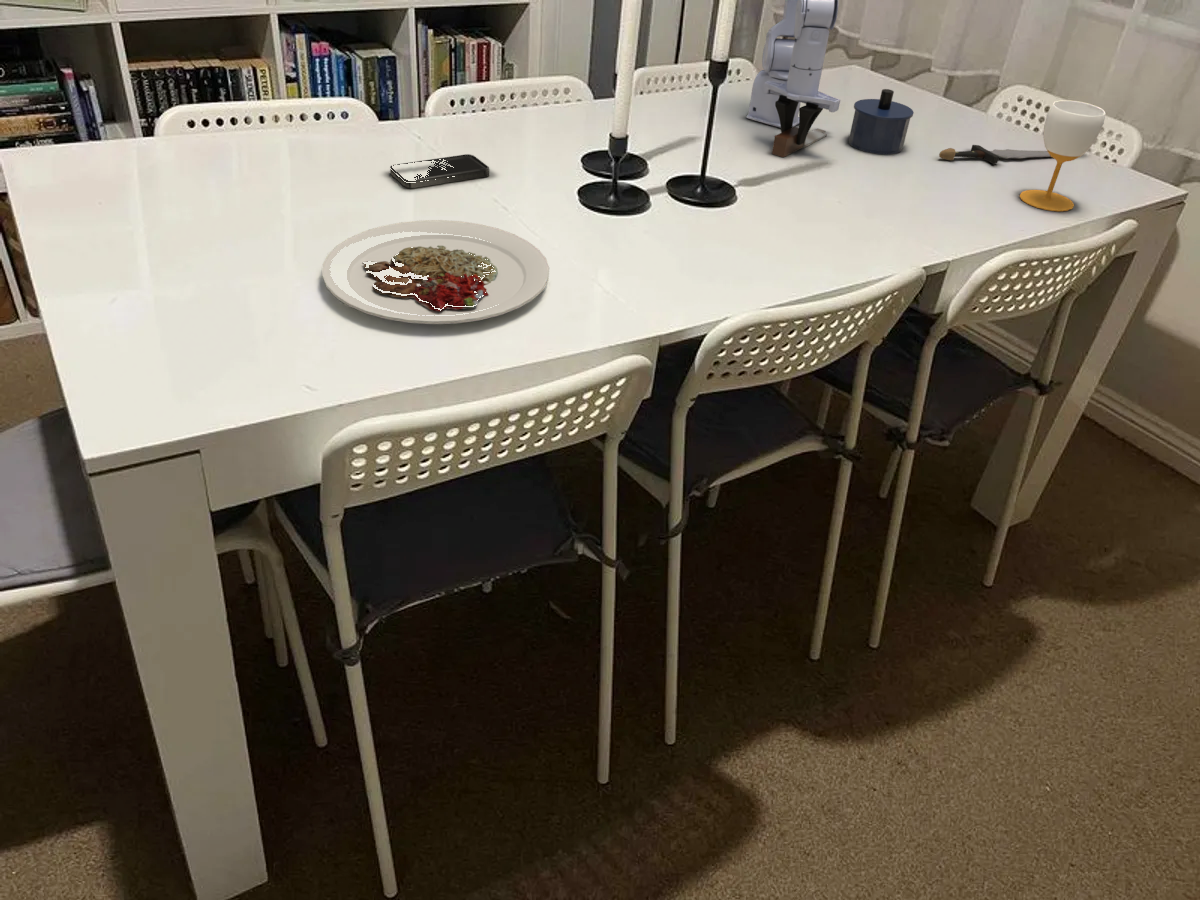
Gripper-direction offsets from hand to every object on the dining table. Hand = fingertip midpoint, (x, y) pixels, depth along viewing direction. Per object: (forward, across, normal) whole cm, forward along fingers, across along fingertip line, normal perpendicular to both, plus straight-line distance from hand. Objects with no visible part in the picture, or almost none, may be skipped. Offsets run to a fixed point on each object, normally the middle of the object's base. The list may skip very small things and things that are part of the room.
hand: (792, 141), depth 184 cm
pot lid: (-5, +10, +14) cm, 19 cm away
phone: (+1, -36, -56) cm, 67 cm away
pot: (+1, +10, +14) cm, 18 cm away
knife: (+1, 0, +3) cm, 4 cm away
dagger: (+2, +32, +28) cm, 43 cm away
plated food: (+2, -10, -84) cm, 84 cm away
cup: (+2, +44, +10) cm, 46 cm away
